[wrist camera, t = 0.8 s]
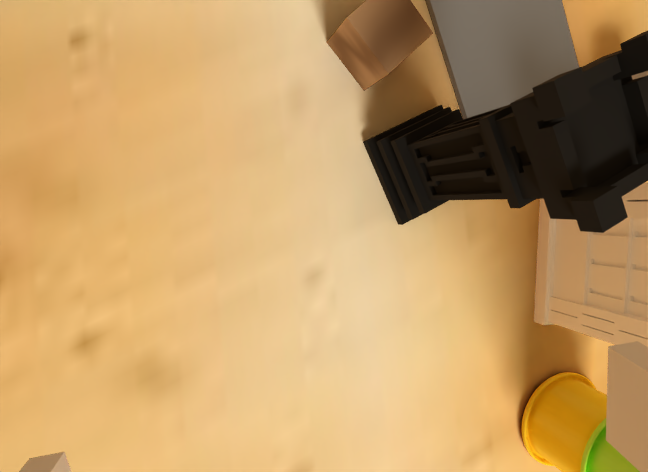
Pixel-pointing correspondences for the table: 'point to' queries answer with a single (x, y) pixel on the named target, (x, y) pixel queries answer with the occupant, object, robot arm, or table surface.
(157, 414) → the table surface
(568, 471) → the stacking cups
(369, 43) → the walnut cube
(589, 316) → the castle model
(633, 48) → the chess piece
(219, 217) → the table surface
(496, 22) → the felt mat
